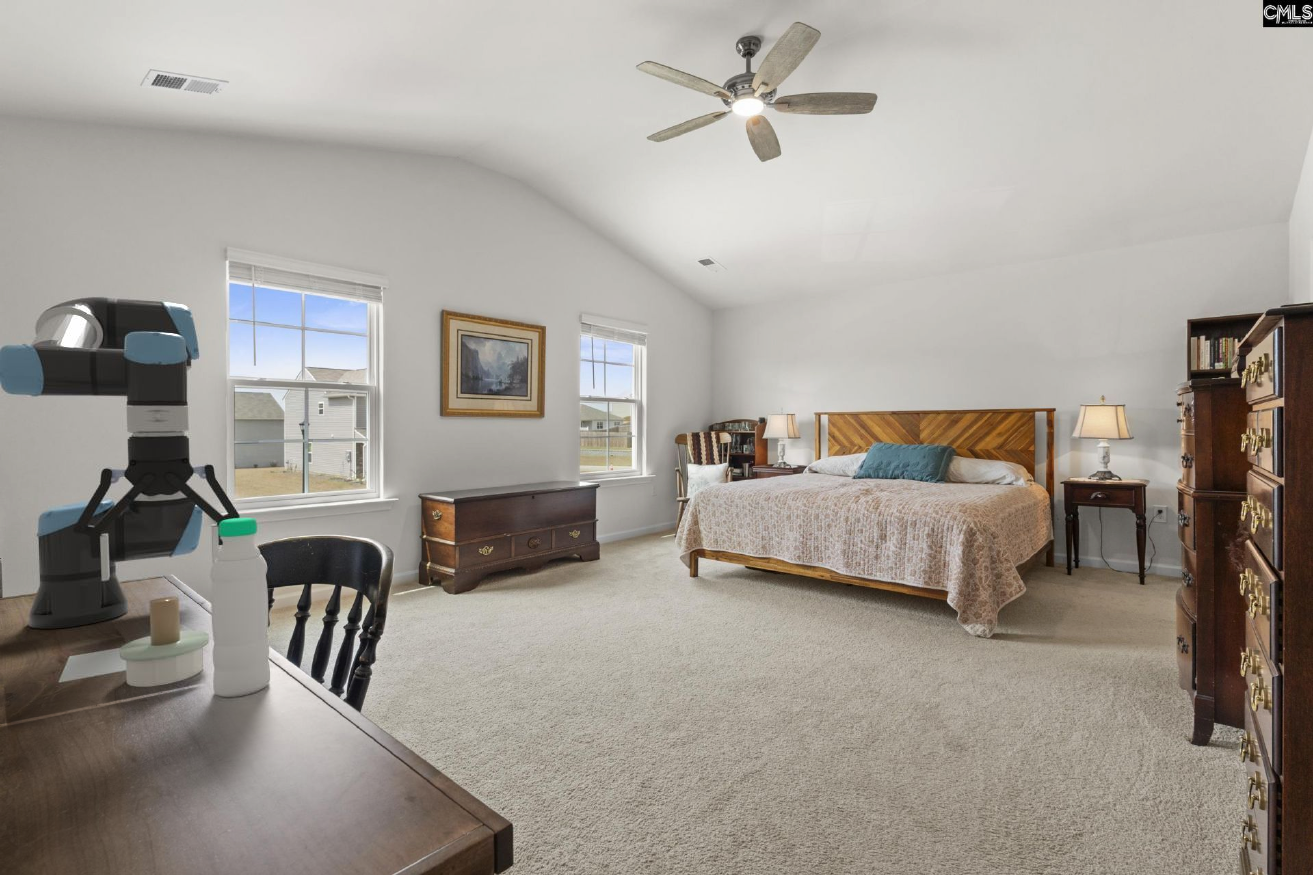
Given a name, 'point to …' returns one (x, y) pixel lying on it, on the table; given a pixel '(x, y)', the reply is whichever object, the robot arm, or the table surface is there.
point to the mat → (93, 665)
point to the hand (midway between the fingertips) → (163, 572)
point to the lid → (164, 635)
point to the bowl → (164, 669)
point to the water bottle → (239, 612)
